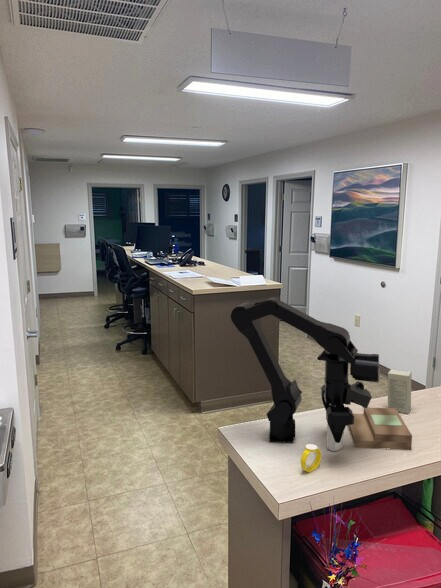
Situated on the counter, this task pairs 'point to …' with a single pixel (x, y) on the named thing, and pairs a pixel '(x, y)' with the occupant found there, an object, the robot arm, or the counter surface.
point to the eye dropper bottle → (333, 441)
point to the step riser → (380, 429)
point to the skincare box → (399, 390)
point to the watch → (305, 454)
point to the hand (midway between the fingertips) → (335, 433)
